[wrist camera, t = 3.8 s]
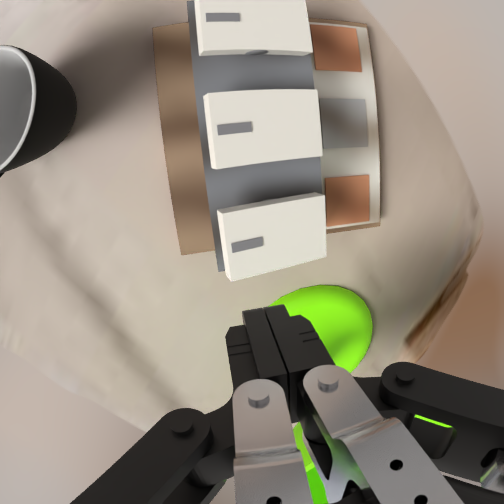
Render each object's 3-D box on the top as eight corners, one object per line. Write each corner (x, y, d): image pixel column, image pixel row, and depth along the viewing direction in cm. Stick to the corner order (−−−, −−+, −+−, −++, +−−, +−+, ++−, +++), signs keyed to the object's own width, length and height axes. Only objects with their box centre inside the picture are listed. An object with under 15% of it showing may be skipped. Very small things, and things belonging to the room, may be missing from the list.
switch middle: (202, 96, 17) (208, 92, 16) (305, 92, 19) (317, 89, 18) (210, 167, 19) (216, 169, 17) (310, 154, 21) (323, 156, 19)
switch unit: (154, 33, 21) (142, 6, 15) (359, 28, 23) (395, 9, 17) (182, 249, 29) (178, 280, 23) (372, 221, 31) (408, 242, 25)
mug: (48, 51, 20) (-10, 24, 10) (108, 100, 23) (62, 84, 13) (-16, 153, 21) (-82, 169, 12) (37, 205, 25) (-23, 240, 15)
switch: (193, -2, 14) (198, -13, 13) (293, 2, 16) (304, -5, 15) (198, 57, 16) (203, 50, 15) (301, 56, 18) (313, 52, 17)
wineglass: (347, 257, 32) (459, 365, 15) (385, 350, 38) (458, 448, 21) (214, 335, 32) (233, 488, 16) (280, 410, 39) (318, 525, 22)
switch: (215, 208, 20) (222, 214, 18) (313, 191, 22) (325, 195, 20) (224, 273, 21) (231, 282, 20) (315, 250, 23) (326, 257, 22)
